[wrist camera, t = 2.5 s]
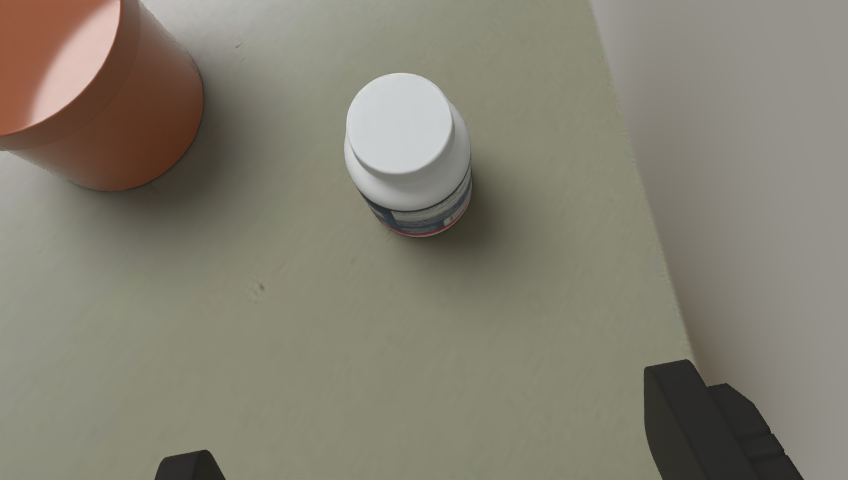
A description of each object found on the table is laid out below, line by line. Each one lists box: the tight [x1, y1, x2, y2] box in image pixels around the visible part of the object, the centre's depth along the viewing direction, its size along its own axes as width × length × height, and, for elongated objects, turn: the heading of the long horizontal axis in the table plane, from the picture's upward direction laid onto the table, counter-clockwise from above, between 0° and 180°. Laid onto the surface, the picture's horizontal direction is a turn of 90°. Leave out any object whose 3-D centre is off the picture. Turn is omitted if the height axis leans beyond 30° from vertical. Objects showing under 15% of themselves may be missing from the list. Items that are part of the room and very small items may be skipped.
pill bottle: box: [344, 73, 472, 237], centre depth 29 cm, size 5×5×9 cm
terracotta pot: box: [0, 0, 204, 191], centre depth 31 cm, size 10×10×9 cm
